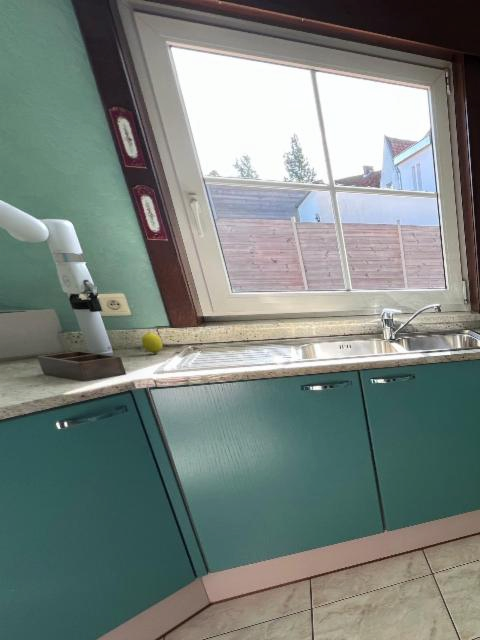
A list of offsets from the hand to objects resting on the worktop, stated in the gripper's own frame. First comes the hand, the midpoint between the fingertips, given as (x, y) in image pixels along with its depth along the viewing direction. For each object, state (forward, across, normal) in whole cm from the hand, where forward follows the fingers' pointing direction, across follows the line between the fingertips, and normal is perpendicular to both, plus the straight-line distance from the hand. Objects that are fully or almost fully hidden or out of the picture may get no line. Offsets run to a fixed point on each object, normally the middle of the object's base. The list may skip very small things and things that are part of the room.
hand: (87, 310), depth 173 cm
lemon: (+16, +12, +10) cm, 22 cm away
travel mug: (+16, 0, 0) cm, 16 cm away
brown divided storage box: (+16, +28, -19) cm, 37 cm away
